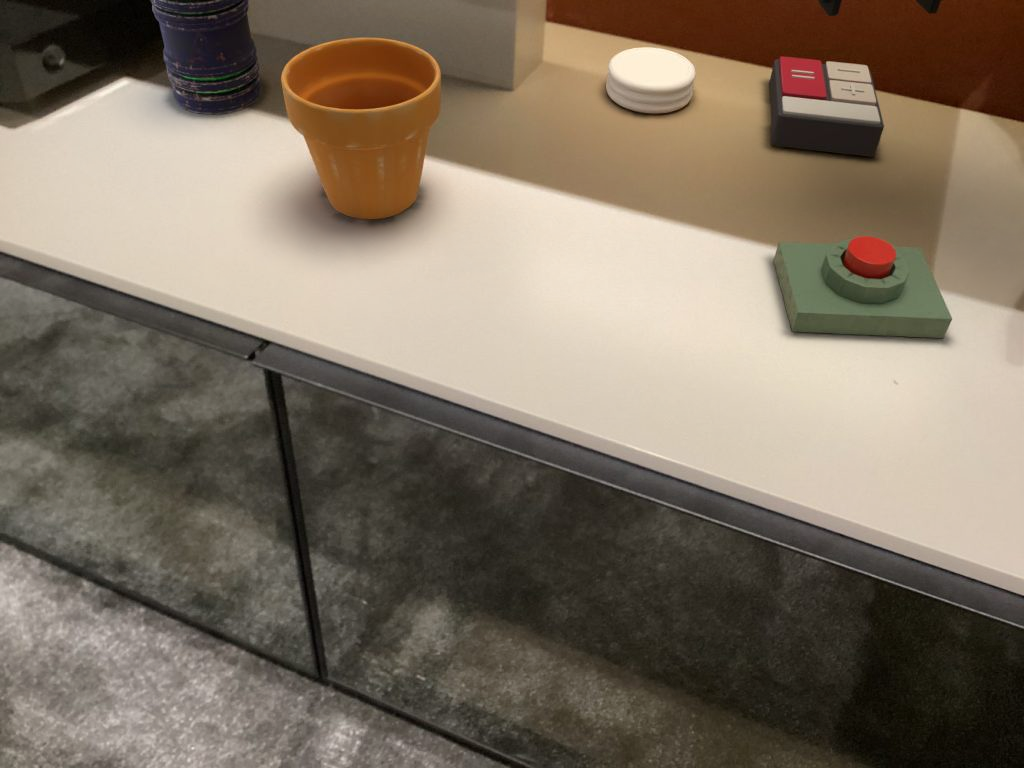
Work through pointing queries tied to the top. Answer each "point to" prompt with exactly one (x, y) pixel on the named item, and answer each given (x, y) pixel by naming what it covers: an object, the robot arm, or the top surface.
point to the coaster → (650, 80)
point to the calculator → (824, 107)
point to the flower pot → (365, 119)
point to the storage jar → (209, 54)
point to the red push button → (869, 257)
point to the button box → (859, 293)
